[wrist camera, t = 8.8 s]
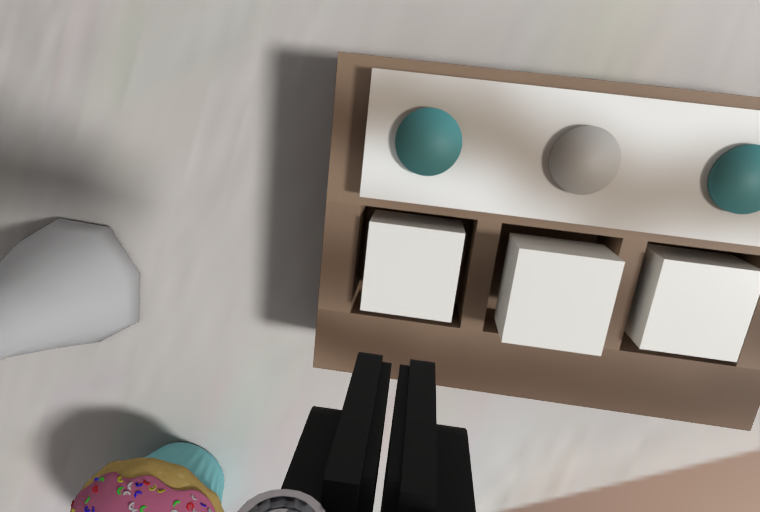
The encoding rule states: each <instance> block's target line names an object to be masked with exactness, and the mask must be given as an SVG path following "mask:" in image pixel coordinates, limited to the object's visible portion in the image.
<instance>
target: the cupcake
mask: <svg viewBox="0 0 760 512" xmlns="http://www.w3.org/2000/svg"><path fill="white" fill-rule="evenodd" d="M223 488H224V475H223V472H222V469H221V467H220V465H219V463H218V462H217V460H216V459H215V458H214V457H213V456H212V455H211V454H210V453H209V452H207V451H206V450H205V449H203V448H201V447H199V446H197V445H194V444H190V443H185V442H175V443H170V444H167V445H164V446H162V447H161V448H159V449H158V450H156V451H154V452H153V453H151V454H150V455H148V456H146V457H143V458H134V459H129V460H124V461H113V462H111V463H109V464H107V465H106V466H105V467H103V468H102V469H101V470H100V471H99V472H97V473H96V474H95V475H94V476H93V477H92V478H90V479H89V480H88V481H87V482H86V483H85V485H84V486H83V488H82V489H81V491H80V492H79V494H78V495H77V497H76V498H75V500H73V501H72V504H71V511H70V512H224V511H223V509H222V506H221V501H222V494H223Z"/></svg>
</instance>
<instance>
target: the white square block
mask: <svg viewBox="0 0 760 512" xmlns="http://www.w3.org/2000/svg"><path fill="white" fill-rule="evenodd" d="M759 295H760V268H758V267H756V266H754V265H752V264H750V263H748V262H746V261H744V260H742V259H740V258H738V257H736V256H734V255H732V254H724V253H716V252H708V251H700V250H693V249H685V248H677V247H669V246H661V245H653V244H647V247H646V250H645V254H644V258H643V262H642V266H641V269H640V273H639V277H638V281H637V284H636V288H635V292H634V296H633V300H632V303H631V307H630V311H629V315H628V318H627V322H626V326H625V330H624V331H625V332H626V334H627V335H628V336H629V337H630V338H631V339H632V341H633V342H634V343H635V344H636V345H637V346H638V348H639V349H644V350H652V351H659V352H666V353H673V354H681V355H688V356H695V357H702V358H710V359H717V360H724V361H731V362H737V360H738V357H739V354H740V351H741V348H742V345H743V342H744V339H745V336H746V333H747V330H748V327H749V325H750V322H751V319H752V316H753V313H754V310H755V307H756V304H757V301H758V298H759Z"/></svg>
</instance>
